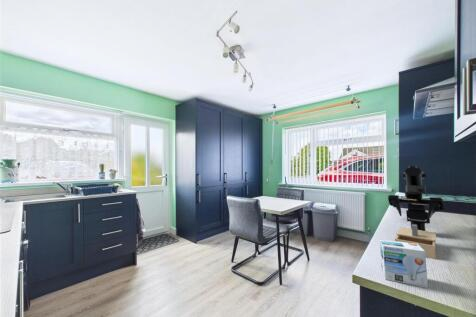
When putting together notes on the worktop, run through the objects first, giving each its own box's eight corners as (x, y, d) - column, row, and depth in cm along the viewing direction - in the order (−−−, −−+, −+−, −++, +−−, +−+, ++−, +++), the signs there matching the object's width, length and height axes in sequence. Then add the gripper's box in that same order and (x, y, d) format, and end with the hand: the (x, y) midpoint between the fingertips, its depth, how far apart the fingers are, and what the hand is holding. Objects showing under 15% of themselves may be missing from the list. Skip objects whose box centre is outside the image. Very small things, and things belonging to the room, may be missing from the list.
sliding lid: (400, 228, 96) (399, 218, 97) (436, 234, 87) (435, 222, 88) (396, 234, 88) (395, 223, 88) (435, 241, 79) (434, 228, 79)
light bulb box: (384, 280, 62) (382, 245, 63) (381, 270, 68) (378, 238, 69) (429, 288, 57) (426, 251, 58) (421, 277, 63) (418, 243, 64)
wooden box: (400, 242, 92) (399, 232, 92) (436, 249, 83) (435, 238, 83) (396, 250, 83) (395, 238, 84) (435, 259, 75) (434, 246, 75)
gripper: (387, 178, 97) (384, 203, 89) (440, 179, 84) (443, 208, 75) (391, 192, 102) (388, 218, 94) (442, 195, 89) (445, 225, 80)
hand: (413, 217), depth 86 cm, fingers open, 9 cm apart
